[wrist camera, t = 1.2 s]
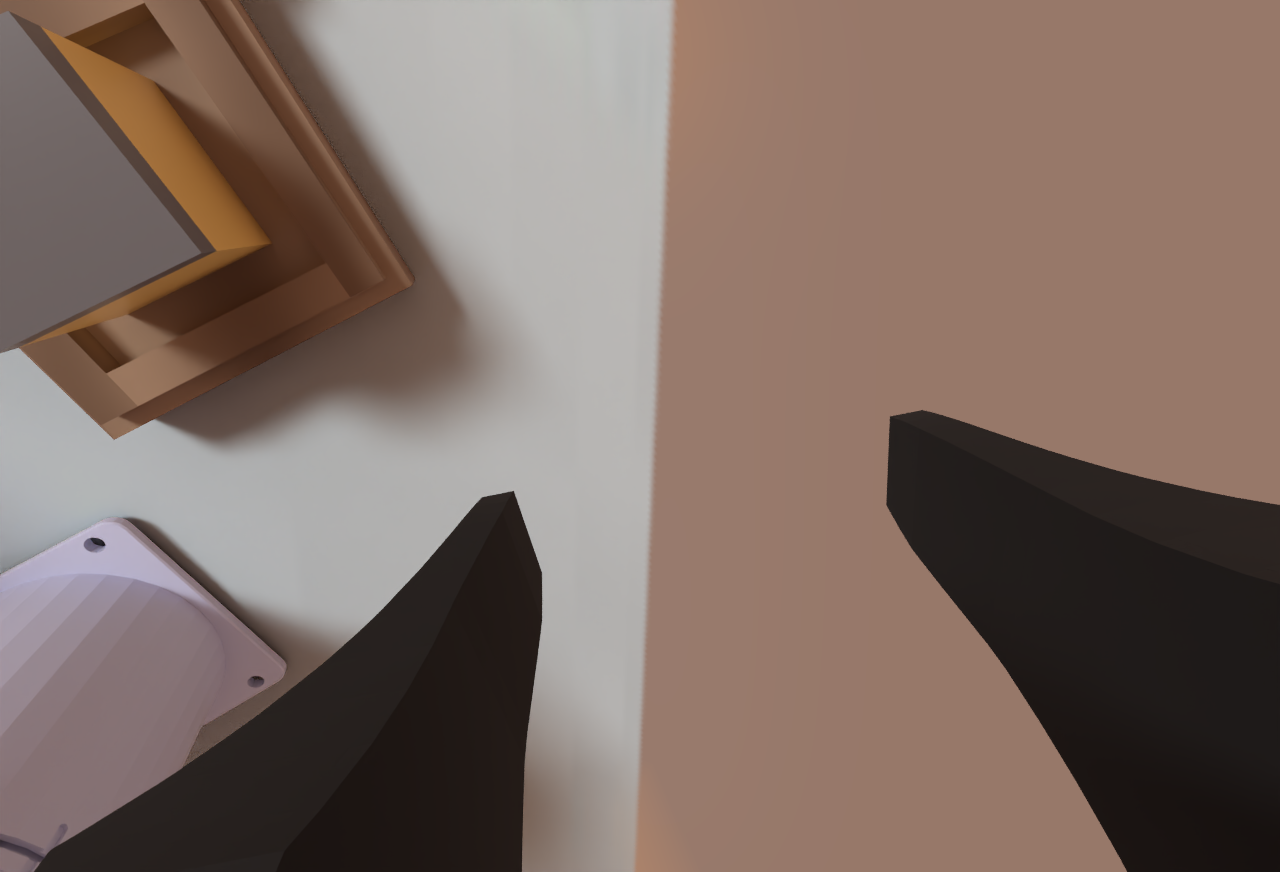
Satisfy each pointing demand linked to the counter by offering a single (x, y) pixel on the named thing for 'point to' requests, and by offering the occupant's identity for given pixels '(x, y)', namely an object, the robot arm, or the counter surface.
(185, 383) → the upper socket
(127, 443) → the counter surface
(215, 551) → the counter surface
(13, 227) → the plug
